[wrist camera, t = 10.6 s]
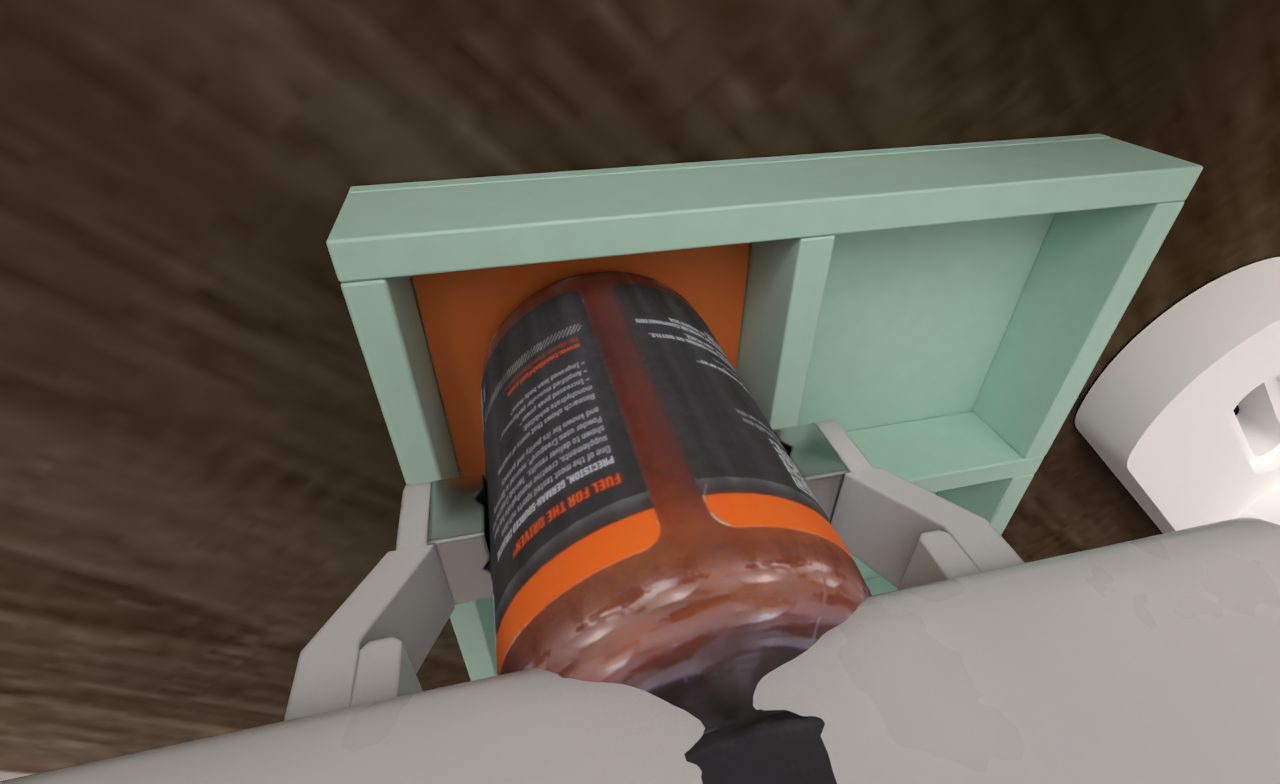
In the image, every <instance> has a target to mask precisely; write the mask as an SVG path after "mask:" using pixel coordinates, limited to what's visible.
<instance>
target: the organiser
mask: <svg viewBox="0 0 1280 784" xmlns="http://www.w3.org/2000/svg"><path fill="white" fill-rule="evenodd" d="M1202 169H1203V167H1202V166H1201V165H1198V164H1195V163H1191V162H1188V161H1185V160H1182V159H1179V158H1175V157H1172V156H1169V155H1166V154H1163V153H1159V152H1156V151H1153V150H1150V149H1147V148H1144V147H1140V146H1137V145H1134V144H1131V143H1128V142H1124V141H1121V140H1118V139H1115V138H1111V137H1109V136H1106V135H1103V134H1086V135H1072V136H1058V137H1044V138H1030V139H1016V140H1002V141H987V142H973V143H959V144H945V145H931V146H917V147H903V148H888V149H874V150H860V151H846V152H832V153H818V154H803V155H789V156H775V157H761V158H747V159H733V160H719V161H704V162H690V163H676V164H662V165H648V166H634V167H619V168H605V169H591V170H577V171H563V172H549V173H535V174H520V175H506V176H492V177H478V178H464V179H450V180H436V181H421V182H407V183H393V184H379V185H365V186H352V187H350V189H349V191H348V195H347V197H346V199H345V201H344V204H343V206H342V208H341V210H340V212H339V215H338V217H337V219H336V221H335V223H334V226H333V228H332V230H331V232H330V235H329V237H328V239H327V242H326V244H327V247H328V250H329V253H330V256H331V259H332V262H333V265H334V268H335V271H336V274H337V277H338V280H339V281H340V282H342V283H341V289H342V292H343V295H344V298H345V301H346V304H347V307H348V310H349V313H350V316H351V319H352V322H353V325H354V328H355V331H356V334H357V337H358V340H359V343H360V346H361V349H362V352H363V355H364V358H365V361H366V364H367V367H368V370H369V373H370V376H371V379H372V383H373V386H374V389H375V392H376V395H377V398H378V401H379V404H380V407H381V410H382V413H383V416H384V419H385V422H386V425H387V428H388V431H389V434H390V437H391V440H392V443H393V446H394V449H395V452H396V455H397V458H398V461H399V464H400V467H401V470H402V473H403V476H404V479H405V482H406V485H410V484H418V483H426V482H433V481H437V480H444V479H452V478H460V477H467V476H475V475H482V474H484V476H485V479H486V474H485V453H484V438H483V418H482V402H481V386H482V374H483V365H484V359H485V356H486V353H487V350H488V347H489V345H490V343H491V340H492V338H493V336H494V335H495V333H496V331H497V330H498V328H499V327H500V325H501V324H502V322H503V321H504V320H505V319H506V318H507V316H508V315H509V314H510V313H511V312H512V311H513V310H514V309H515V308H516V307H518V306H519V305H520V304H521V303H522V302H523V301H524V300H526V299H527V298H528V297H530V296H531V295H533V294H534V293H535V292H537V291H539V290H541V289H542V288H544V287H546V286H548V285H550V284H551V283H553V282H555V281H558V280H561V279H563V278H568V277H571V276H575V275H579V274H586V273H593V272H606V271H617V272H628V273H633V274H638V275H642V276H646V277H649V278H652V279H655V280H657V281H658V282H660V283H662V284H665V285H667V286H668V287H670V288H671V289H673V290H674V291H675V292H677V293H678V294H680V295H681V296H682V297H683V298H685V299H686V300H687V302H689V303H690V304H691V305H692V307H693V308H694V310H695V311H696V312H697V313H698V315H699V316H700V317H701V318H702V319H703V320H704V322H705V323H706V325H707V326H708V328H709V329H710V331H711V332H712V334H713V335H714V337H715V339H716V341H717V342H718V344H719V346H720V347H721V349H722V350H723V352H724V354H725V355H726V356H727V358H728V360H729V361H730V363H731V364H732V366H733V367H734V369H735V371H736V372H737V374H738V375H739V377H740V378H741V380H742V381H743V383H744V385H745V387H746V388H747V390H748V391H749V393H750V395H751V396H752V398H753V399H754V401H755V402H756V404H757V405H758V407H759V409H760V410H761V412H762V413H763V415H764V417H765V419H766V420H767V422H768V423H769V424H770V426H771V428H772V430H773V429H779V428H785V427H791V426H797V425H803V424H811V423H814V422H820V421H826V420H832V419H834V420H836V421H838V422H839V423H840V425H841V426H842V427H843V429H844V430H845V431H846V432H847V434H848V435H849V436H850V438H851V439H852V440H853V441H854V443H855V444H856V445H857V447H858V448H859V449H860V450H861V452H862V453H863V454H864V455H865V457H866V458H867V459H868V461H869V462H870V463H871V464H872V466H873V467H874V468H879V467H881V468H883V469H885V470H887V471H889V472H891V473H893V474H895V475H897V476H899V477H901V478H903V479H905V480H908V481H910V482H912V483H914V484H916V485H918V486H920V487H922V488H924V489H926V490H928V491H930V492H932V493H934V494H936V495H938V496H940V497H942V498H944V499H946V500H948V501H950V502H952V503H954V504H956V505H958V506H960V507H962V508H964V509H966V510H968V511H970V512H973V513H975V514H977V515H979V516H981V517H983V518H985V519H986V520H987V521H988V522H989V523H990V524H991V525H992V526H993V527H994V529H995V530H996V531H997V532H998V533H999V534H1000V535H1002V533H1003V531H1004V529H1005V527H1006V526H1007V524H1008V522H1009V520H1010V518H1011V516H1012V515H1013V513H1014V511H1015V509H1016V507H1017V506H1018V504H1019V502H1020V500H1021V498H1022V496H1023V495H1024V493H1025V491H1026V489H1027V487H1028V485H1029V484H1030V482H1031V480H1032V478H1033V476H1034V473H1035V472H1036V471H1037V469H1038V467H1039V466H1040V464H1041V462H1042V460H1043V458H1044V456H1045V455H1046V454H1047V452H1048V450H1049V448H1050V447H1051V445H1052V443H1053V441H1054V439H1055V437H1056V436H1057V434H1058V432H1059V430H1060V428H1061V427H1062V425H1063V423H1064V421H1065V419H1066V417H1067V416H1068V414H1069V412H1070V410H1071V408H1072V407H1073V405H1074V403H1075V401H1076V399H1077V397H1078V396H1079V394H1080V392H1081V390H1082V388H1083V387H1084V385H1085V383H1086V381H1087V379H1088V377H1089V376H1090V374H1091V372H1092V370H1093V368H1094V367H1095V365H1096V363H1097V361H1098V359H1099V357H1100V356H1101V354H1102V352H1103V350H1104V348H1105V347H1106V345H1107V343H1108V341H1109V339H1110V337H1111V336H1112V334H1113V332H1114V330H1115V328H1116V327H1117V325H1118V323H1119V321H1120V319H1121V317H1122V316H1123V314H1124V312H1125V310H1126V308H1127V307H1128V305H1129V303H1130V301H1131V299H1132V297H1133V296H1134V294H1135V292H1136V290H1137V288H1138V287H1139V285H1140V283H1141V281H1142V279H1143V277H1144V276H1145V274H1146V272H1147V270H1148V268H1149V267H1150V265H1151V263H1152V261H1153V259H1154V257H1155V256H1156V254H1157V252H1158V250H1159V248H1160V247H1161V245H1162V243H1163V241H1164V239H1165V237H1166V236H1167V234H1168V232H1169V230H1170V228H1171V227H1172V225H1173V223H1174V221H1175V219H1176V217H1177V216H1178V214H1179V212H1180V210H1181V208H1182V207H1183V205H1184V200H1185V199H1186V198H1187V197H1188V195H1189V193H1190V191H1191V189H1192V188H1193V186H1194V184H1195V182H1196V180H1197V178H1198V177H1199V175H1200V173H1201V171H1202ZM850 555H851V556H852V558H853V560H854V561H855V563H856V565H857V567H858V569H859V571H860V573H861V575H862V577H863V579H864V581H865V583H866V585H867V587H868V588H869V590H870V592H871V595H872V596H873V595H878V594H882V593H887V592H892V591H897V590H898V588H897V587H895V586H894V585H893V584H891V583H890V582H889V581H887V580H886V579H885V578H883V577H882V576H881V575H879V574H878V573H876V572H875V571H874V570H872V569H871V568H870V567H868V566H867V565H866V564H864V563H863V562H862V561H860V560H859V559H858V558H856V557H855V556H853V555H852V554H851V553H850ZM454 606H455V609H454V610H453V612H452V614H451V615H450V619H451V622H452V625H453V628H454V631H455V634H456V637H457V640H458V643H459V646H460V649H461V652H462V655H463V658H464V661H465V664H466V667H467V670H468V674H469V677H470V680H471V681H474V680H479V679H483V678H488V677H493V676H497V675H498V672H497V657H496V645H495V629H494V612H493V597H490V598H485V599H481V600H476V601H471V602H467V603H462V604H458V605H454Z"/></svg>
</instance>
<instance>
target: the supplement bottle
mask: <svg viewBox="0 0 1280 784" xmlns="http://www.w3.org/2000/svg"><path fill="white" fill-rule="evenodd" d="M481 402H482V418H483V438H484V453H485V474H486V487H487V497H488V499H487V515H488V531H489V543H490V566H491V579H492V596H493V612H494V629H495V645H496V657H497V672H498V675H502V674H507V673H512V672H516V671H521V670H526V669H531V668H538V669H542V670H546V671H550V672H553V673H556V674H558V675H560V676H561V677H563V678H571V679H576V680H581V681H589V682H606V683H616V684H624V685H628V686H632V687H635V688H638V689H641V690H644V691H646V692H648V693H650V694H652V695H654V696H656V697H658V698H660V699H663V700H664V701H666V702H668V703H670V704H672V705H674V706H676V707H678V708H681V709H683V710H685V711H687V712H688V713H690V714H691V715H693V716H694V717H696V718H697V719H699V720H700V721H701V722H702V724H703V726H704V727H705V730H704V732H703V735H702V737H701V738H700V739H699V740H698V742H696V743H695V744H694V745H693V747H692V748H691V749H690V750H689V751H687V752H686V753H685V754H684V755H685V758H686V761H687V762H690V763H693V764H696V765H697V766H698V767H699V768H700V769H701V771H702V775H701V779H702V782H703V784H837V782H836V779H835V776H834V773H833V770H832V766H831V762H830V758H829V755H828V752H827V750H826V748H825V745H824V743H823V740H822V738H821V733H822V731H823V728H824V725H825V723H824V721H823V720H822V719H821V718H819V717H815V716H800V715H798V714H796V713H793V712H791V711H788V710H765V711H764V710H762V709H759V710H756V709H755V708H754V706H753V695H754V692H755V689H756V687H757V684H758V683H759V681H760V680H761V679H762V678H763V677H764V676H765V675H767V674H768V673H769V672H771V671H773V670H775V669H776V668H778V667H780V666H781V665H783V664H785V663H787V662H789V661H791V660H793V659H795V658H796V657H798V656H799V655H801V654H802V653H804V652H805V651H807V650H808V649H809V648H810V647H811V646H812V645H814V644H815V643H816V642H817V641H818V640H819V639H820V637H821V636H822V635H823V634H825V633H826V632H827V631H829V630H830V629H833V628H835V627H836V626H838V625H840V624H841V623H843V622H844V621H846V620H847V619H848V618H849V617H850V616H851V615H852V614H853V613H854V612H855V611H856V609H857V607H858V606H859V604H860V603H861V602H862V601H863V600H864V598H866V597H868V596H872V595H871V592H870V590H869V588H868V587H867V585H866V583H865V581H864V579H863V577H862V575H861V573H860V571H859V569H858V567H857V565H856V563H855V561H854V560H853V558H852V556H851V555H850V553H849V551H848V550H847V548H846V547H845V545H844V543H843V542H842V540H841V539H840V537H839V536H838V534H837V533H836V531H835V530H834V529H833V527H832V526H831V524H830V523H829V519H828V516H827V514H826V513H825V512H824V510H823V509H822V507H821V506H820V504H819V503H818V501H817V499H816V498H815V496H814V495H813V493H812V492H811V490H810V488H809V487H808V485H807V484H806V482H805V481H804V479H803V477H802V476H801V474H800V472H799V471H798V469H797V467H796V466H795V464H794V462H793V461H792V460H791V458H790V457H789V455H788V453H787V452H786V450H785V449H784V447H783V446H782V444H781V442H780V441H779V439H778V437H777V436H776V434H775V433H774V431H773V430H772V428H771V426H770V424H769V423H768V422H767V420H766V419H765V417H764V415H763V413H762V412H761V410H760V409H759V407H758V405H757V404H756V402H755V401H754V399H753V398H752V396H751V395H750V393H749V391H748V390H747V388H746V387H745V385H744V383H743V381H742V380H741V378H740V377H739V375H738V374H737V372H736V371H735V369H734V367H733V366H732V364H731V363H730V361H729V360H728V358H727V356H726V355H725V354H724V352H723V350H722V349H721V347H720V346H719V344H718V342H717V341H716V339H715V337H714V335H713V334H712V332H711V331H710V329H709V328H708V326H707V325H706V323H705V322H704V320H703V319H702V318H701V317H700V316H699V315H698V313H697V312H696V311H695V310H694V308H693V307H692V305H691V304H690V303H689V302H687V300H686V299H685V298H683V297H682V296H681V295H680V294H678V293H677V292H675V291H674V290H673V289H671V288H670V287H668V286H667V285H665V284H662V283H660V282H658V281H657V280H655V279H652V278H649V277H646V276H642V275H638V274H633V273H628V272H617V271H606V272H593V273H586V274H579V275H575V276H571V277H568V278H563V279H561V280H558V281H555V282H553V283H551V284H550V285H548V286H546V287H544V288H542V289H541V290H539V291H537V292H535V293H534V294H533V295H531V296H530V297H528V298H527V299H526V300H524V301H523V302H522V303H521V304H520V305H519V306H518V307H516V308H515V309H514V310H513V311H512V312H511V313H510V314H509V315H508V316H507V318H506V319H505V320H504V321H503V322H502V324H501V325H500V327H499V328H498V330H497V331H496V333H495V335H494V336H493V338H492V340H491V343H490V345H489V347H488V350H487V353H486V356H485V359H484V365H483V374H482V386H481Z"/></svg>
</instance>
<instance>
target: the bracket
mask: <svg viewBox="0 0 1280 784" xmlns="http://www.w3.org/2000/svg"><path fill="white" fill-rule="evenodd" d="M1237 405H1238V407H1239V412H1238V414H1237V415H1235V413H1234V411H1233V410H1234V409H1235V407H1236V406H1237ZM1075 426H1076V428H1077V429H1078V431H1079V432H1080V433H1081V434H1082V435H1083V437H1084V438H1085V439H1086V440H1087V442H1088V443H1089V444H1090V445H1091V446H1092V448H1093V449H1094V450H1095V451H1096V452H1097V454H1098V455H1099V456H1100V457H1101V459H1102V460H1103V461H1104V462H1105V463H1106V465H1107V466H1108V467H1109V468H1110V470H1111V471H1112V472H1113V473H1114V474H1115V476H1116V477H1117V478H1118V479H1119V481H1120V482H1121V483H1122V484H1123V485H1124V487H1125V488H1126V489H1127V490H1128V492H1129V493H1130V494H1131V495H1132V496H1133V498H1134V499H1135V500H1136V501H1137V503H1138V504H1139V505H1140V506H1141V507H1142V509H1143V510H1144V511H1145V512H1146V513H1147V515H1148V516H1149V517H1150V518H1151V520H1152V521H1153V522H1154V523H1155V524H1156V526H1157V527H1158V528H1159V529H1160V531H1161V532H1162V533H1163V534H1164V533H1169V532H1173V531H1178V530H1183V529H1187V528H1192V527H1197V526H1201V525H1206V524H1210V523H1215V522H1219V521H1224V520H1230V519H1236V518H1258V519H1262V520H1265V521H1269V522H1272V523H1275V524H1278V525H1280V257H1275V258H1270V259H1266V260H1262V261H1259V262H1255V263H1253V264H1250V265H1247V266H1244V267H1242V268H1239V269H1237V270H1235V271H1233V272H1230V273H1228V274H1226V275H1224V276H1222V277H1220V278H1218V279H1216V280H1214V281H1212V282H1210V283H1208V284H1207V285H1205V286H1203V287H1202V288H1200V289H1198V290H1197V291H1195V292H1193V293H1192V294H1190V295H1189V296H1187V297H1186V298H1184V299H1183V300H1181V301H1180V302H1178V303H1177V304H1175V305H1174V306H1173V307H1171V308H1170V309H1169V310H1167V311H1166V312H1164V313H1163V314H1162V315H1161V316H1159V317H1158V318H1157V319H1156V320H1154V321H1153V322H1152V323H1151V324H1150V325H1148V326H1147V327H1146V328H1145V329H1144V330H1143V331H1142V332H1140V333H1139V334H1138V335H1137V336H1136V337H1135V338H1134V339H1133V340H1132V341H1131V342H1130V343H1129V344H1128V345H1127V346H1126V347H1125V348H1124V349H1123V350H1122V351H1121V352H1120V353H1119V354H1118V355H1117V356H1116V357H1115V358H1114V360H1113V361H1112V362H1111V363H1110V364H1109V365H1108V366H1107V368H1106V369H1105V370H1104V371H1103V373H1102V374H1101V375H1100V376H1099V378H1098V379H1097V381H1096V382H1095V383H1094V385H1093V386H1092V388H1091V389H1090V391H1089V392H1088V394H1087V396H1086V397H1085V399H1084V400H1083V402H1082V404H1081V406H1080V408H1079V410H1078V412H1077V415H1076V418H1075Z"/></svg>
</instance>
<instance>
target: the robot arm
mask: <svg viewBox="0 0 1280 784" xmlns="http://www.w3.org/2000/svg"><path fill="white" fill-rule="evenodd" d="M773 431H774V433H775V434H776V436H777V437H778V439H779V441H780V442H781V444H782V446H783V447H784V449H785V450H786V452H787V453H788V455H789V457H790V458H791V460H792V461H793V462H794V464H795V466H796V467H797V469H798V471H799V472H800V474H801V476H802V477H803V479H804V481H805V482H806V484H807V485H808V487H809V488H810V490H811V492H812V493H813V495H814V496H815V498H816V499H817V501H818V503H819V504H820V506H821V507H822V509H823V510H824V512H825V513H826V514H827V516H828V519H829V523H830V524H831V526H832V527H833V529H834V530H835V531H836V533H837V534H838V536H839V537H840V539H841V540H842V542H843V543H844V545H845V547H846V548H847V550H848V551H849V553H851V554H852V555H853V556H855V557H856V558H858V559H859V560H860V561H862V562H863V563H864V564H866V565H867V566H868V567H870V568H871V569H872V570H874V571H875V572H876V573H878V574H879V575H881V576H882V577H883V578H885V579H886V580H887V581H889V582H890V583H891V584H893V585H894V586H895V587H897V588H898V590H897V591H892V592H887V593H882V594H878V595H873V596H868V597H866V598H864V600H863V601H862V602H861V603H860V604H859V606H858V607H857V609H856V611H855V612H854V613H853V614H852V615H851V616H850V617H849V618H848V619H847V620H846V621H844V622H843V623H841V624H840V625H838V626H836V627H835V628H833V629H830V630H829V631H827V632H826V633H825V634H823V635H822V636H821V637H820V639H819V640H818V641H817V642H816V643H815V644H814V645H812V646H811V647H810V648H809V649H808V650H807V651H805V652H804V653H802V654H801V655H799V656H798V657H796V658H795V659H793V660H791V661H789V662H787V663H785V664H783V665H781V666H780V667H778V668H776V669H775V670H773V671H771V672H769V673H768V674H767V675H765V676H764V677H763V678H762V679H761V680H760V681H759V683H758V684H757V687H756V689H755V692H754V695H753V706H754V708H755V709H756V710H759V709H762V710H764V711H765V710H788V711H791V712H793V713H796V714H798V715H800V716H815V717H819V718H821V719H822V720H823V721H824V723H825V725H824V728H823V731H822V733H821V738H822V740H823V743H824V745H825V748H826V750H827V752H828V755H829V758H830V762H831V766H832V770H833V773H834V776H835V779H836V782H837V784H1280V525H1278V524H1275V523H1272V522H1269V521H1265V520H1262V519H1258V518H1236V519H1230V520H1224V521H1219V522H1215V523H1210V524H1206V525H1201V526H1197V527H1192V528H1187V529H1183V530H1178V531H1173V532H1169V533H1164V534H1160V535H1155V536H1150V537H1146V538H1141V539H1136V540H1132V541H1127V542H1122V543H1118V544H1113V545H1108V546H1104V547H1099V548H1094V549H1089V550H1085V551H1080V552H1075V553H1071V554H1066V555H1061V556H1057V557H1052V558H1047V559H1042V560H1038V561H1033V562H1028V563H1025V562H1024V561H1023V560H1022V559H1021V558H1020V557H1019V556H1018V554H1017V553H1016V552H1015V551H1014V550H1013V549H1012V548H1011V547H1010V545H1009V544H1008V543H1007V542H1006V541H1005V540H1004V539H1003V538H1002V536H1001V535H1000V534H999V533H998V532H997V531H996V530H995V529H994V527H993V526H992V525H991V524H990V523H989V522H988V521H987V520H986V519H985V518H983V517H981V516H979V515H977V514H975V513H973V512H970V511H968V510H966V509H964V508H962V507H960V506H958V505H956V504H954V503H952V502H950V501H948V500H946V499H944V498H942V497H940V496H938V495H936V494H934V493H932V492H930V491H928V490H926V489H924V488H922V487H920V486H918V485H916V484H914V483H912V482H910V481H908V480H905V479H903V478H901V477H899V476H897V475H895V474H893V473H891V472H889V471H887V470H885V469H883V468H881V467H879V468H874V467H873V466H872V464H871V463H870V462H869V461H868V459H867V458H866V457H865V455H864V454H863V453H862V452H861V450H860V449H859V448H858V447H857V445H856V444H855V443H854V441H853V440H852V439H851V438H850V436H849V435H848V434H847V432H846V431H845V430H844V429H843V427H842V426H841V425H840V423H839V422H838V421H836V420H834V419H832V420H826V421H820V422H814V423H811V424H803V425H797V426H791V427H785V428H779V429H773ZM487 499H488V497H487V487H486V479H485V476H484V474H482V475H475V476H467V477H460V478H452V479H444V480H437V481H433V482H426V483H418V484H410V485H406V486H405V488H404V490H403V494H402V502H401V510H400V519H399V527H398V535H397V544H396V551H390V552H387V553H386V555H385V556H384V557H383V558H382V559H381V560H380V561H379V563H378V564H377V565H376V566H375V567H374V568H373V569H372V571H371V572H370V573H369V574H368V575H367V576H366V578H365V579H364V580H363V581H362V582H361V583H360V584H359V586H358V587H357V588H356V589H355V590H354V591H353V592H352V594H351V595H350V596H349V597H348V598H347V599H346V600H345V602H344V603H343V604H342V605H341V606H340V607H339V608H338V610H337V611H336V612H335V613H334V614H333V615H332V617H331V618H330V619H329V620H328V621H327V622H326V623H325V625H324V626H323V627H322V628H321V629H320V630H319V631H318V633H317V634H316V635H315V636H314V637H313V638H312V639H311V641H310V642H309V643H308V644H307V645H306V646H305V648H304V649H303V650H302V651H301V652H300V656H299V660H298V664H297V668H296V672H295V676H294V681H293V685H292V689H291V693H290V697H289V701H288V706H287V710H286V714H285V718H284V721H281V722H277V723H272V724H267V725H263V726H258V727H253V728H249V729H244V730H239V731H235V732H230V733H225V734H220V735H216V736H211V737H206V738H202V739H197V740H192V741H188V742H183V743H178V744H174V745H169V746H164V747H160V748H155V749H150V750H146V751H141V752H136V753H132V754H127V755H122V756H117V757H113V758H108V759H103V760H99V761H94V762H89V763H85V764H80V765H75V766H71V767H66V768H61V769H57V770H52V771H47V772H43V773H38V774H33V775H29V776H24V777H19V778H15V779H10V780H5V781H1V782H0V784H703V782H702V779H701V775H702V771H701V769H700V768H699V767H698V766H697V765H696V764H693V763H690V762H687V761H686V758H685V755H684V754H685V753H686V752H687V751H689V750H690V749H691V748H692V747H693V745H694V744H695V743H696V742H698V740H699V739H700V738H701V737H702V735H703V732H704V730H705V727H704V726H703V724H702V722H701V721H700V720H699V719H697V718H696V717H694V716H693V715H691V714H690V713H688V712H687V711H685V710H683V709H681V708H678V707H676V706H674V705H672V704H670V703H668V702H666V701H664V700H663V699H660V698H658V697H656V696H654V695H652V694H650V693H648V692H646V691H644V690H641V689H638V688H635V687H632V686H628V685H624V684H616V683H606V682H589V681H581V680H576V679H571V678H563V677H561V676H560V675H558V674H556V673H553V672H550V671H546V670H542V669H538V668H531V669H526V670H521V671H516V672H512V673H507V674H502V675H497V676H493V677H488V678H483V679H479V680H474V681H469V682H465V683H460V684H455V685H450V686H446V687H441V688H436V689H432V690H427V691H423V690H422V688H421V685H420V683H419V681H418V678H417V676H416V674H417V672H418V670H419V669H420V667H421V665H422V664H423V662H424V660H425V658H426V657H427V655H428V653H429V652H430V650H431V648H432V646H433V645H434V643H435V641H436V640H437V638H438V636H439V634H440V633H441V631H442V629H443V627H444V626H445V624H446V622H447V621H448V619H449V617H450V615H451V614H452V612H453V610H454V609H455V606H454V605H458V604H462V603H467V602H471V601H476V600H481V599H485V598H490V597H493V596H492V579H491V566H490V543H489V531H488V515H487Z"/></svg>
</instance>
